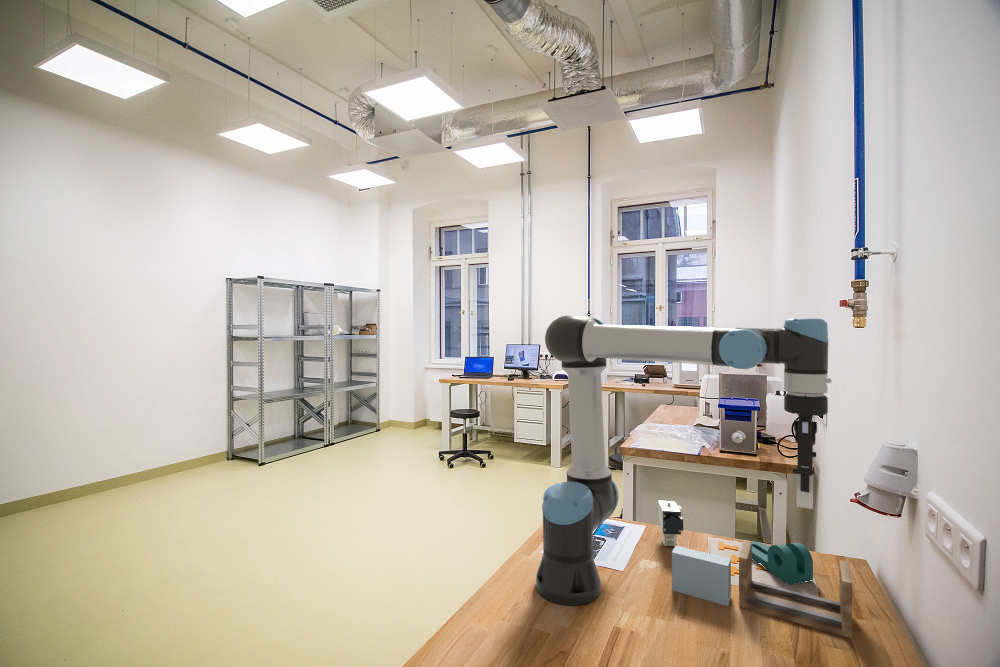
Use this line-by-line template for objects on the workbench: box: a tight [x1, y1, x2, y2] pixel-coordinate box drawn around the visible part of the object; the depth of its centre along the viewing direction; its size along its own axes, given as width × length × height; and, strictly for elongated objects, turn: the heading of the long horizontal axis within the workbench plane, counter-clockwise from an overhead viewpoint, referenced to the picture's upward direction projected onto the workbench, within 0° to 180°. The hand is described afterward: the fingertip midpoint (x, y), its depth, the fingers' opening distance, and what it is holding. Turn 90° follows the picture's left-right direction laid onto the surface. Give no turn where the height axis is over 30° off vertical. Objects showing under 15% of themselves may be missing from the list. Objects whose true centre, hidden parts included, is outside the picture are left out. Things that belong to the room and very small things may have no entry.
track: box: [738, 539, 853, 639], centre depth 103 cm, size 20×10×11 cm, turn 57°
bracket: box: [752, 540, 814, 585], centre depth 122 cm, size 18×7×8 cm, turn 11°
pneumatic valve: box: [657, 499, 684, 548], centre depth 134 cm, size 6×12×12 cm, turn 170°
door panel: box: [671, 545, 732, 607], centre depth 109 cm, size 12×4×9 cm, turn 57°
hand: (805, 496), depth 97 cm, fingers open, 13 cm apart
